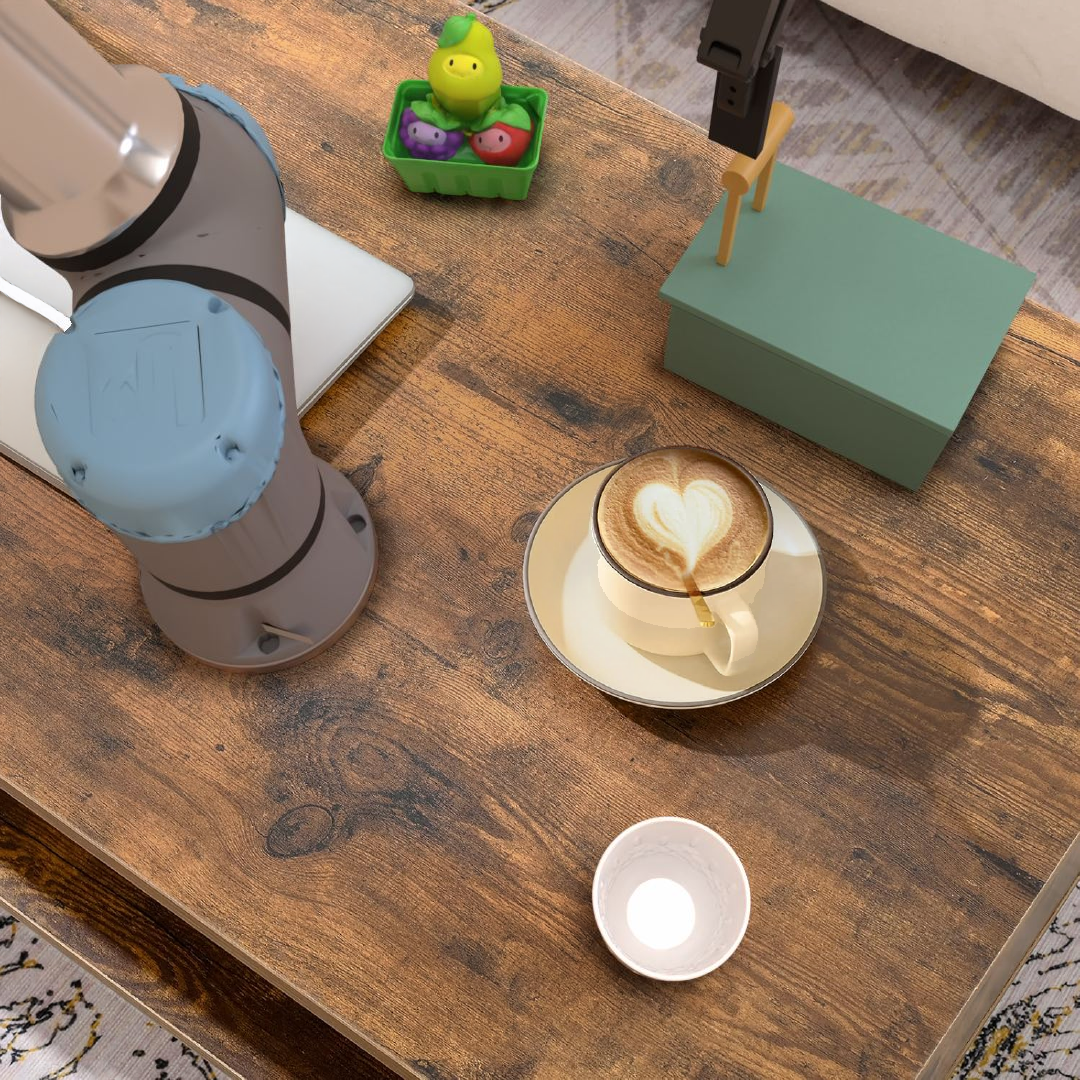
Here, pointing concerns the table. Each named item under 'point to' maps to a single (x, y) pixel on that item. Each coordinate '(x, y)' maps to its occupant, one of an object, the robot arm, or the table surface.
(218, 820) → the table surface
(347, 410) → the table surface
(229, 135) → the robot arm
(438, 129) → the fruit basket
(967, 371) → the lid
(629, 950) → the white cup
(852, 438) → the chest
